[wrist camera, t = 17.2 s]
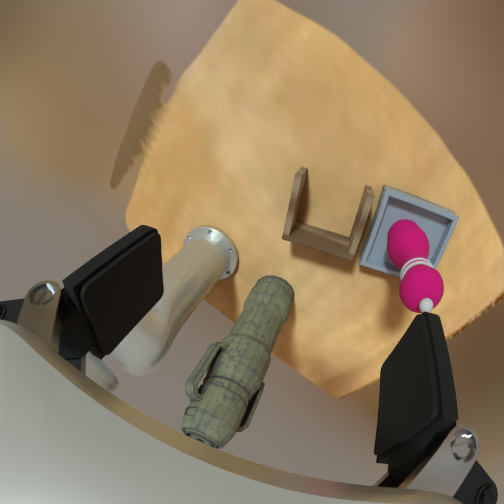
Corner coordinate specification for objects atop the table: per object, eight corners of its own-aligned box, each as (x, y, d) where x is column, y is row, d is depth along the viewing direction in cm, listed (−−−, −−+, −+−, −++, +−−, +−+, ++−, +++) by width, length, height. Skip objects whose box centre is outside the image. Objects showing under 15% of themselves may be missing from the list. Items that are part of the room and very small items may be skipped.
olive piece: (268, 262, 55) (178, 414, 26) (307, 301, 56) (252, 459, 27) (241, 283, 60) (152, 418, 31) (278, 318, 61) (215, 458, 32)
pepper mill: (379, 248, 44) (388, 327, 28) (391, 211, 41) (412, 277, 24) (415, 258, 43) (437, 337, 26) (428, 222, 39) (465, 291, 23)
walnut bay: (352, 243, 47) (352, 260, 42) (289, 224, 49) (281, 239, 45) (371, 186, 41) (374, 196, 36) (301, 166, 44) (295, 174, 39)
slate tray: (423, 277, 45) (426, 285, 42) (359, 256, 48) (359, 264, 45) (453, 211, 37) (458, 217, 35) (383, 184, 40) (386, 189, 38)
